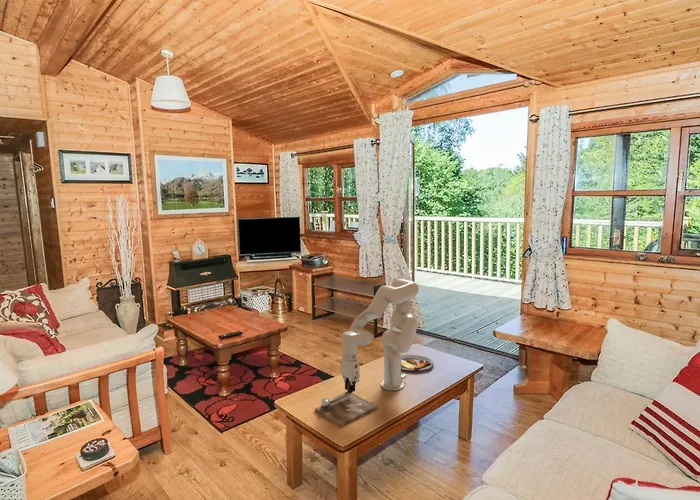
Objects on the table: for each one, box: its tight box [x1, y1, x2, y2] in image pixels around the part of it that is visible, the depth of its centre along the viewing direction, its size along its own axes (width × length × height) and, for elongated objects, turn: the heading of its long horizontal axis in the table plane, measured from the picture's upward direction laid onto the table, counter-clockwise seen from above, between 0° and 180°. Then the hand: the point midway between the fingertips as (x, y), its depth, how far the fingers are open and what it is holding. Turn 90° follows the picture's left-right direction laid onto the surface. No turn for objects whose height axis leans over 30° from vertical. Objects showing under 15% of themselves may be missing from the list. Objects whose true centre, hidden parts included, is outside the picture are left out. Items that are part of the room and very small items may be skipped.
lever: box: [321, 380, 353, 408], centre depth 203 cm, size 20×4×7 cm, turn 132°
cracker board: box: [314, 392, 378, 429], centre depth 199 cm, size 24×19×2 cm
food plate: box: [401, 354, 434, 372], centre depth 252 cm, size 25×23×4 cm
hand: (350, 389), depth 208 cm, fingers open, 3 cm apart
